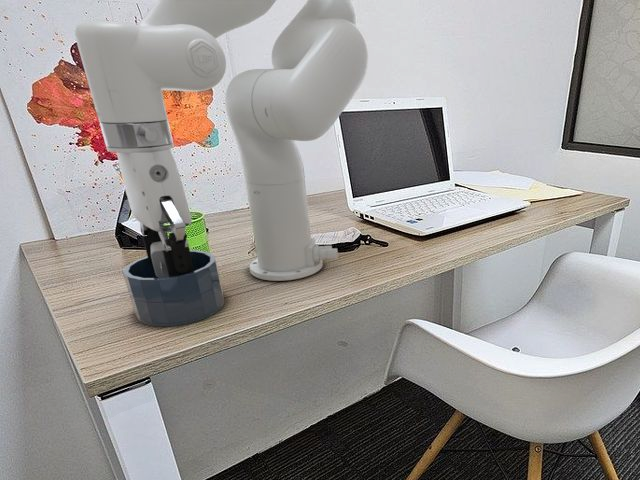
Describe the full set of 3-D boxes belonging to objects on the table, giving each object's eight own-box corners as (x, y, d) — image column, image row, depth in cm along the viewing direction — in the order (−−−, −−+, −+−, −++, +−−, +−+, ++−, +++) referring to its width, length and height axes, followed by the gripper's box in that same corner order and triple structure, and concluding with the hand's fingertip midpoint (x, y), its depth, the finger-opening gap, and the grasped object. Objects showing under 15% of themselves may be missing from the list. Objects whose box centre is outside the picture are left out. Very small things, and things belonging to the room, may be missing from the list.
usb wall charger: (185, 264, 71) (179, 239, 69) (189, 280, 66) (183, 253, 64) (156, 269, 69) (149, 242, 68) (157, 285, 64) (149, 257, 62)
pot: (205, 285, 78) (196, 244, 74) (237, 308, 70) (229, 264, 67) (126, 307, 70) (112, 263, 67) (152, 335, 63) (138, 287, 60)
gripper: (195, 140, 56) (223, 278, 64) (148, 129, 67) (176, 248, 75) (126, 146, 51) (165, 293, 59) (87, 133, 63) (124, 259, 71)
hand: (171, 267), depth 67 cm, fingers closed on usb wall charger, 7 cm apart
